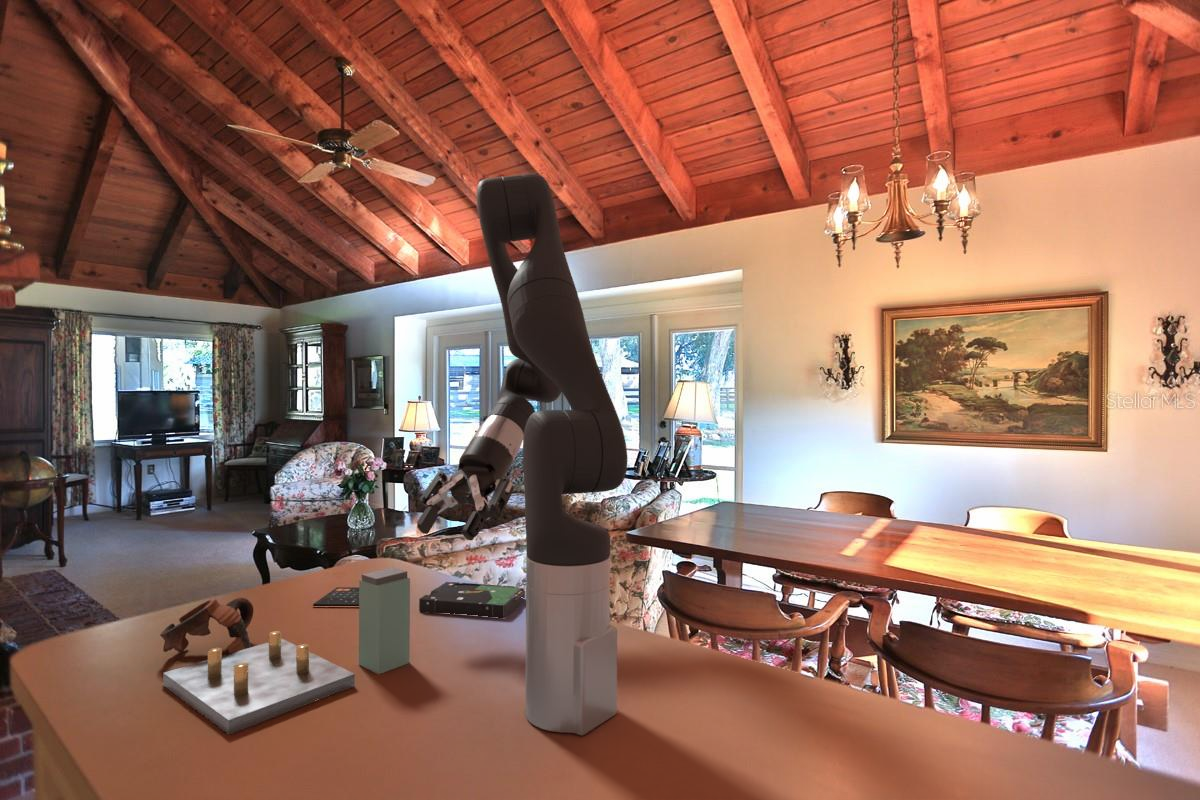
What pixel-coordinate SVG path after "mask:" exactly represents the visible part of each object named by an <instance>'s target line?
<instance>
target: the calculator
mask: <svg viewBox="0 0 1200 800" xmlns="http://www.w3.org/2000/svg"><path fill="white" fill-rule="evenodd" d="M313 606H359V587H354V586H353V587H350V586H347V587H346V586H345V587H344V586H340V587H339V586H338V587H335V588H334V589H333V590H331V591H330V592H327V594H325V595H324V596H323V597H321V598H320V599H318V600H317V601H315V602H314V603H313V605H312V607H313Z"/></svg>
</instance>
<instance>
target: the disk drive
mask: <svg viewBox="0 0 1200 800" xmlns="http://www.w3.org/2000/svg"><path fill="white" fill-rule="evenodd" d="M521 597H523V598H525V599H523V598H521ZM418 600H419V602H418V608H419V609H418V612H419V611H420V612H419V613H425V612H429V613H428V614H437V613H450V614H454V613H455V614H467V615H478V616H488V617H498V618H505V617H506V616H507V617H508V616H509V615H510V614H511V613H512V612H513V611H514V610H515V609H517V608H518V607H519V606H521V604H522V603H523V602H524V601H526V590H525V588H524V587H516V586H513V585H497V584H484V583H483V584H482V583H467V582H459V581H458V582H455V581H446V582H444V583H442V584H441V585H439V586H438V587H436V588H434V589H432V590H431V591H430V594H425V595H422V597H420V598H419V599H418ZM516 607H517V608H516ZM507 617H506V618H507ZM498 618H497V619H498ZM506 618H505V619H506Z"/></svg>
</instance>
